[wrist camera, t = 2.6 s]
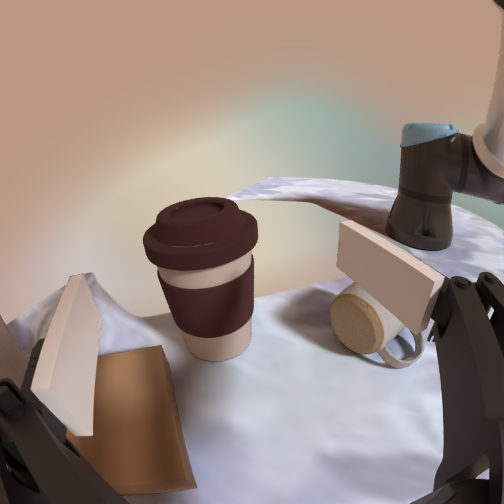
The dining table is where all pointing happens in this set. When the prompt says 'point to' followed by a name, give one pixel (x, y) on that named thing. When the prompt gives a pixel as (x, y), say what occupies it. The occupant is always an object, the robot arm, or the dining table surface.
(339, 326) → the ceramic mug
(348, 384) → the dining table surface
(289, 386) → the dining table surface
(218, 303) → the coffee cup
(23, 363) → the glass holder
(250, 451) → the dining table surface
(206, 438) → the dining table surface
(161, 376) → the walnut slab
